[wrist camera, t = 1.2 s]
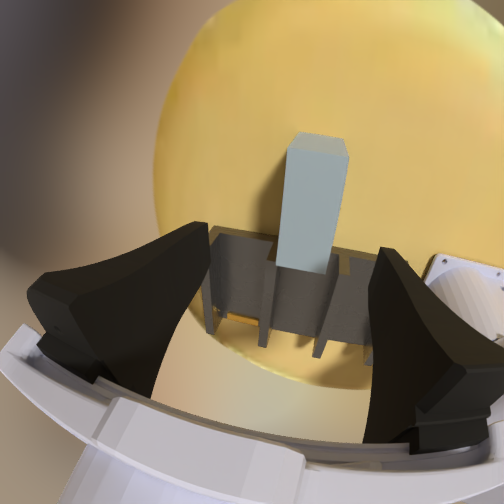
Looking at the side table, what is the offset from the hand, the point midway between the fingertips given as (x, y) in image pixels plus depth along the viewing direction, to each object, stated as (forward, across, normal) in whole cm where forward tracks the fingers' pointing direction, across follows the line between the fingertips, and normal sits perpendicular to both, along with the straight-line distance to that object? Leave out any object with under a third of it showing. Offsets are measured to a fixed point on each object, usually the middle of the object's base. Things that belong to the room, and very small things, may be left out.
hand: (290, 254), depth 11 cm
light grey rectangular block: (+10, -1, 0) cm, 10 cm away
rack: (+10, -1, +10) cm, 14 cm away
